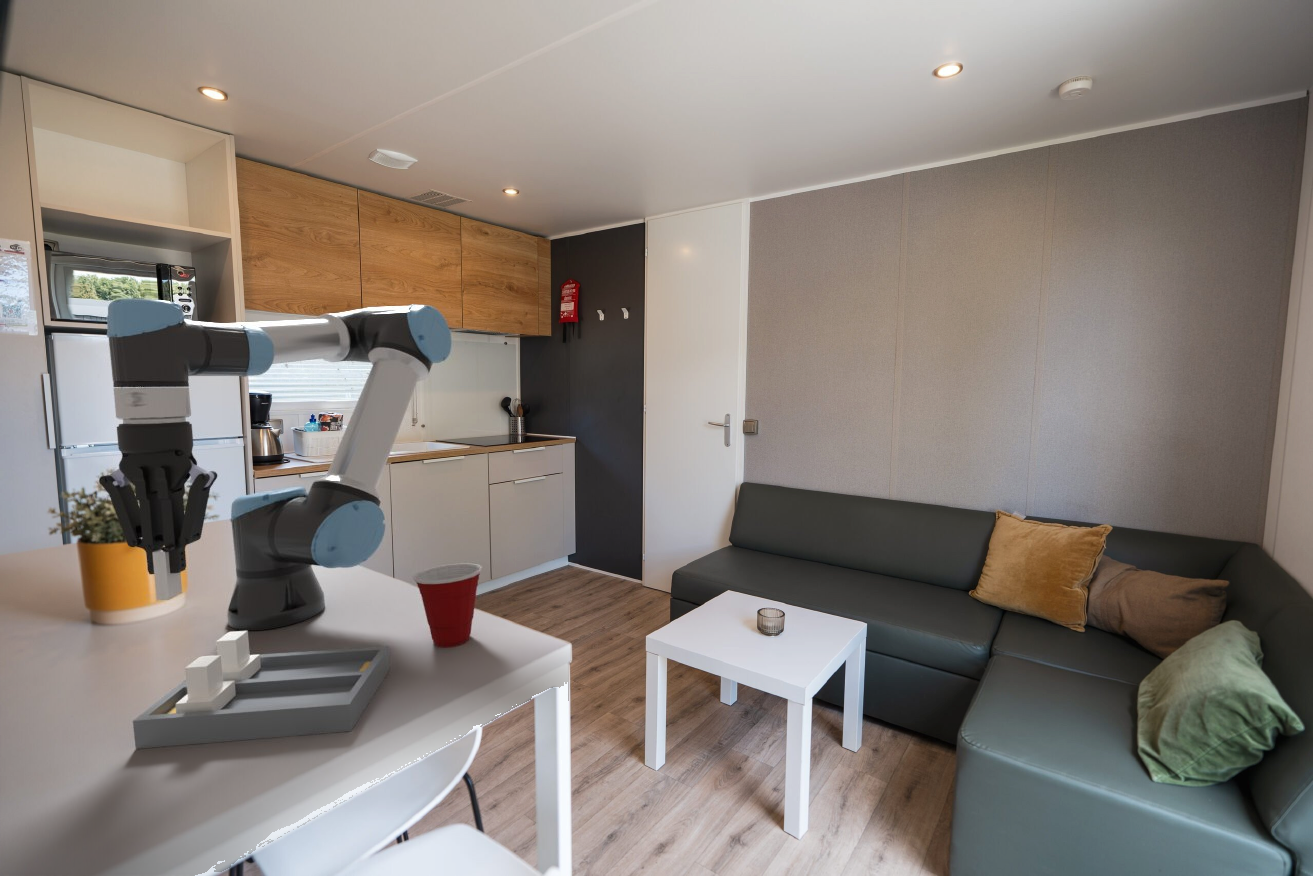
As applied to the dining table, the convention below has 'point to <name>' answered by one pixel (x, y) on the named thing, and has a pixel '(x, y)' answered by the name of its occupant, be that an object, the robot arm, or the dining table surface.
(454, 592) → the plastic cup
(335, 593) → the dining table surface
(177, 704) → the tab
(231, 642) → the tab
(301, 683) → the grey divided tray
